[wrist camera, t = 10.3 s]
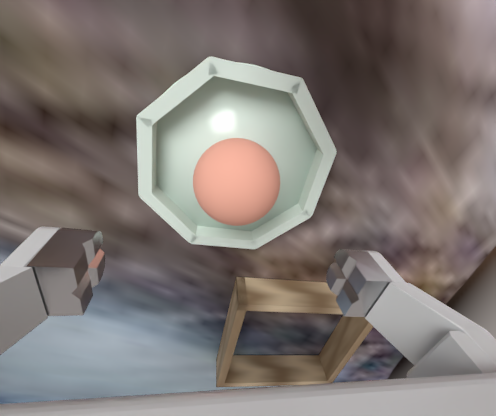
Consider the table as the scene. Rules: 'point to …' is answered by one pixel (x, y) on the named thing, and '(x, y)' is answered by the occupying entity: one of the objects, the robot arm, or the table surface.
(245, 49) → the table surface
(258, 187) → the ball
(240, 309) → the wooden square frame
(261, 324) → the table surface
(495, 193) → the table surface
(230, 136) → the saucer
